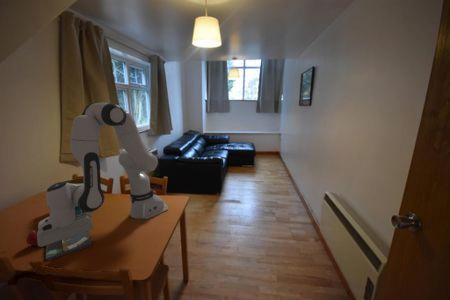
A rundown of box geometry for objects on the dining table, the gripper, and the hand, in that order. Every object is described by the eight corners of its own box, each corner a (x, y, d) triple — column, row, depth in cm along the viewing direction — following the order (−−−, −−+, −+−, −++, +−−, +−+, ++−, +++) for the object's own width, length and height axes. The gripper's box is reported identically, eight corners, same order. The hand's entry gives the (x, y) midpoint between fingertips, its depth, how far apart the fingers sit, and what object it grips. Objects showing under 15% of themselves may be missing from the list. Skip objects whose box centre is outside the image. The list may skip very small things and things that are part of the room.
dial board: (87, 229, 114) (87, 227, 114) (92, 245, 102) (91, 242, 102) (46, 242, 104) (46, 239, 104) (46, 260, 92) (45, 258, 92)
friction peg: (66, 234, 108) (64, 223, 106) (68, 250, 96) (66, 237, 95) (61, 235, 106) (59, 224, 105) (62, 252, 95) (60, 239, 94)
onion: (25, 247, 100) (21, 232, 98) (39, 240, 105) (36, 225, 103) (32, 250, 98) (29, 235, 96) (46, 243, 103) (43, 228, 101)
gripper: (89, 207, 104) (93, 232, 107) (34, 223, 91) (40, 251, 94) (91, 213, 99) (96, 239, 102) (33, 230, 86) (40, 259, 90)
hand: (69, 245), depth 98 cm, fingers closed, pressing on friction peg
